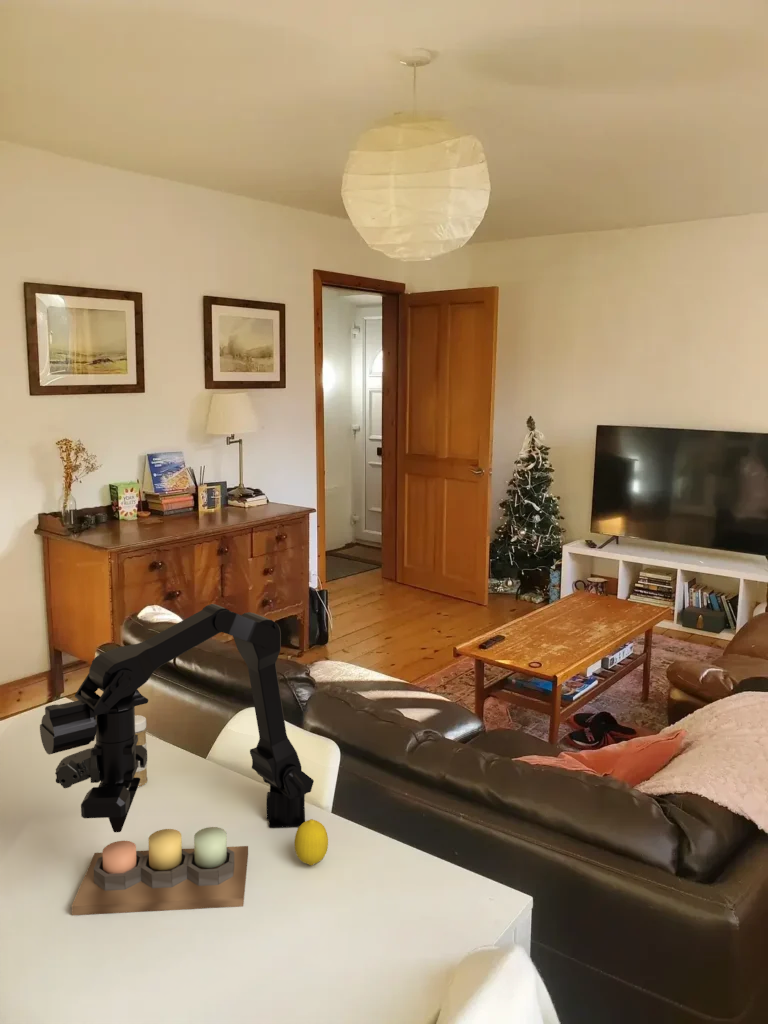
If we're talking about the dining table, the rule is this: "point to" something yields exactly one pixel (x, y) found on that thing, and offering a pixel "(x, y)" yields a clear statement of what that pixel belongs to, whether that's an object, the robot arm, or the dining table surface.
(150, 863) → the button ochre
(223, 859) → the button sage
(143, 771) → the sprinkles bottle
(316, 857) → the lemon
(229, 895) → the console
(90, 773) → the robot arm
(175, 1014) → the dining table surface
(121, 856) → the button terracotta
